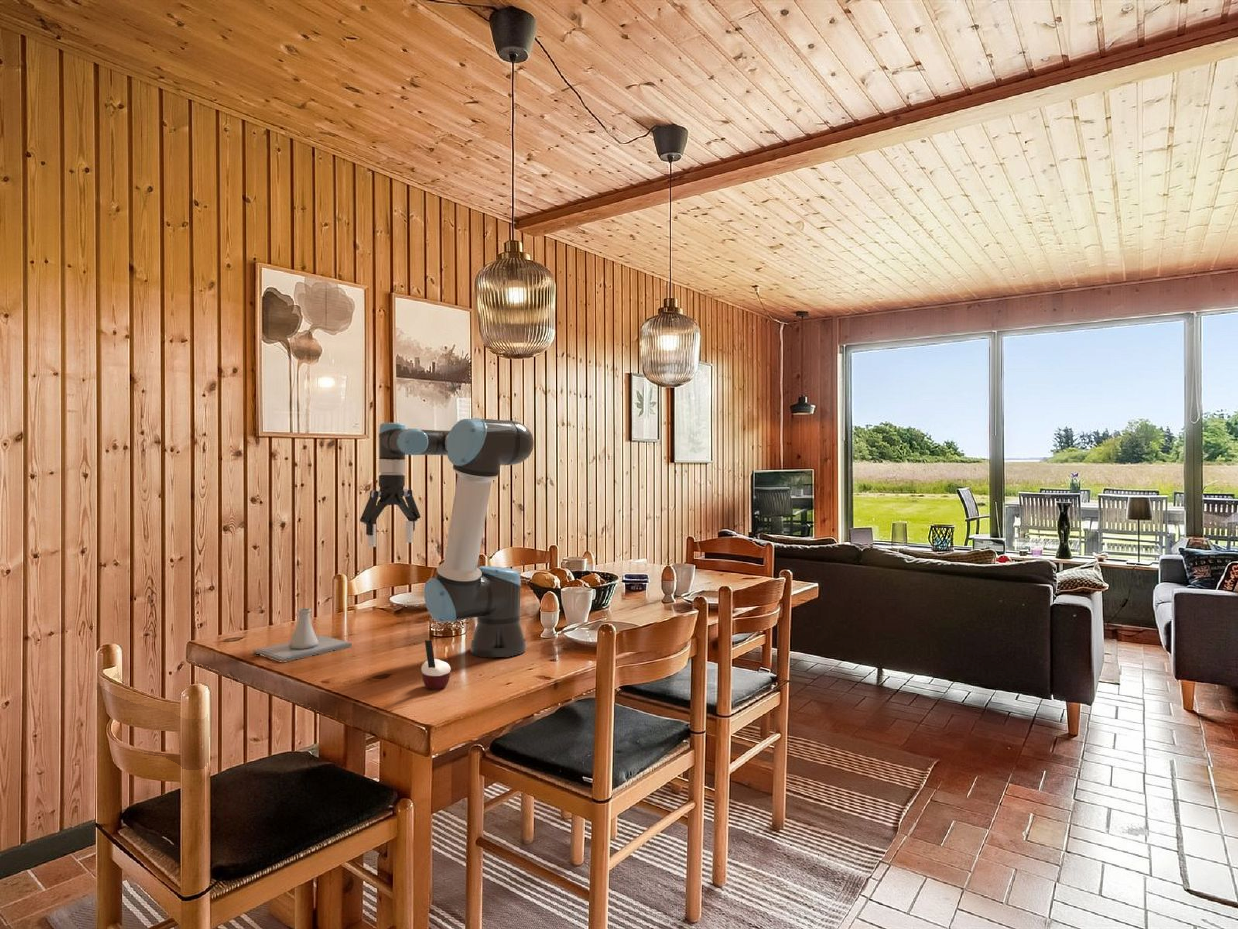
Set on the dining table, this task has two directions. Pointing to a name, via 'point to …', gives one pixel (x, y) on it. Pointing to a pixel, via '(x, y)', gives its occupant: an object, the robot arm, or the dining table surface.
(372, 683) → the dining table surface
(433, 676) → the cocoa
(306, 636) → the flask
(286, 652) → the slate board
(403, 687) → the dining table surface
